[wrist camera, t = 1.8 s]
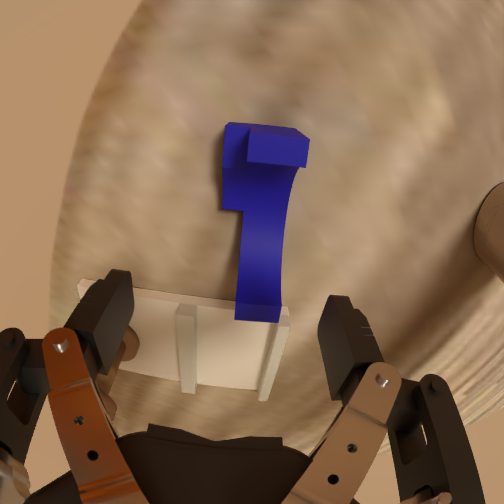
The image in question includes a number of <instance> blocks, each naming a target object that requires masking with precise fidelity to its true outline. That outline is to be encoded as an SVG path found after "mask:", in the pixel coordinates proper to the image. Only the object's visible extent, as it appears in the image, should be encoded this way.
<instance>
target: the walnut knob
mask: <svg viewBox="0 0 504 504" xmlns="http://www.w3.org/2000/svg"><path fill="white" fill-rule="evenodd" d="M139 346H140V342H139V338H138V336H137V334H136V332H135V331H134V330H133V329H132V328H131V327H130V326H129V325H128V327H127V329H126V332H125V334H124V336H123V339H122V341H121V344H120V346H119V348H118V351H117V353H116V356H115V358H114V361H113V363H112V366H111V368H110V371H109V373H108V376H106V375H102V374H98V375H97V377H96V380H95V382H96V384H97V387H98V389H99V392H100V395H101V397H102V399H103V402H104V404H105V407H106V409H107V411H108V414H109V416H110V418H111V420H112V421H113V420H114V417H115V414H116V411H117V406H116V404H115V402H114V401H113V400H112V399H111V398H110V397H109V396H108V394H109V391H110V388H111V386H112V383H113V380H114V378H115V375H116V373H117V370H118V368H119V365H120V363H121V361H130V360H132V359H133V358H134V357H135V356H136V354H137V352H138V349H139Z"/></svg>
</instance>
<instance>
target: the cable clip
mask: <svg viewBox="0 0 504 504" xmlns="http://www.w3.org/2000/svg"><path fill="white" fill-rule="evenodd" d="M309 142H310V139H308V138H307V137H306V136H305V135H303V134H302V133H301V132H299V131H298V130H297V129H295V128H287V127H279V126H270V125H260V124H249V123H235V122H229V123H228V124H226V125H225V136H224V150H223V166H222V169H223V201H222V209H225V210H237V211H243V223H242V235H241V246H240V258H239V269H238V280H237V292H236V302H235V316H234V320H241V321H253V322H268V323H279V318H280V313H281V308H282V303H281V263H282V248H283V237H284V228H285V220H286V213H287V207H288V201H289V196H290V192H291V188H292V184H293V180H294V177H295V175H296V172H297V170H298V169H299V167H303V168H306V163H307V156H308V149H309Z"/></svg>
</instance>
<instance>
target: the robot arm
mask: <svg viewBox="0 0 504 504" xmlns="http://www.w3.org/2000/svg"><path fill="white" fill-rule="evenodd" d="M474 247H475V251H476V253H477V255H478V256H479V258H480V259H481V260H482V261H483V262H484V263H485V264H486V265H487V266H488V267H489V268H490V269H491V270H492V271H493V272H494V273H495V274H496V275H497V276H498V277H499V278H500V280H501V281H502V282H503V283H504V182H503V183H501V184H500V185H498V186H497V187H496V188H494V189H493V190H492V191H491V193H490V194H489V195H488V196H487V198H486V199H485V201H484V203H483V205H482V206H481V209H480V211H479V214H478V216H477V220H476V223H475V229H474ZM134 305H135V302H134V294H133V286H132V277H131V273H130V272H129V271H124V270H117V269H112V270H111V271H110V272H109V274H108V275H107V276H106V278H105V280H101V279H99V280H98V281H96V282H95V283H93V284H92V285H91V286H90V287H89V288H88V290H87V291H86V293H85V294H84V296H83V297H82V299H81V300H80V303H78V305H77V306H76V308H75V309H74V311H73V313H72V314H71V316H70V317H69V319H68V320H67V322H66V324H65V325H64V327H62V328H56V329H53V330H51V331H50V332H48V333H47V334H46V336H45V337H44V339H26V338H25V336H24V334H23V332H22V331H21V330H19V329H17V328H8V329H5V330H3V331H2V332H0V504H360V503H359V502H357V501H356V500H355V499H354V498H353V497H354V495H355V494H356V492H357V490H358V488H359V487H360V485H361V483H362V481H363V480H364V478H365V476H366V474H367V472H368V470H369V468H370V466H371V465H372V463H373V460H374V459H375V457H376V455H377V452H378V450H379V448H380V446H381V444H382V442H383V440H384V437H385V435H386V433H387V431H388V436H389V441H390V446H391V451H392V455H393V461H394V466H395V471H396V478H397V483H398V490H399V496H400V504H485V499H484V495H483V490H482V486H481V482H480V478H479V474H478V470H477V467H476V463H475V460H474V456H473V453H472V450H471V447H470V444H469V440H468V437H467V434H466V431H465V428H464V425H463V423H462V420H461V417H460V414H459V412H458V409H457V406H456V404H455V401H454V399H453V396H452V394H451V391H450V389H449V386H448V384H447V383H446V381H445V380H444V379H443V378H441V377H440V376H438V375H435V374H427V375H425V376H424V377H423V378H422V379H421V380H420V381H419V382H417V381H412V380H407V379H403V378H401V376H400V374H399V372H398V371H397V370H396V369H395V368H394V367H393V366H391V365H389V364H387V363H385V362H384V360H383V357H382V355H381V352H380V350H379V347H378V345H377V342H376V340H375V337H374V336H373V332H372V330H371V329H370V325H369V323H368V321H367V318H366V317H365V316H364V315H363V314H362V312H361V311H360V310H359V309H354V308H353V306H352V303H351V301H350V299H349V297H348V296H340V295H330V296H329V297H328V299H327V302H326V304H325V307H324V310H323V313H322V315H321V318H320V321H319V324H318V340H319V344H320V348H321V353H322V357H323V362H324V366H325V371H326V376H327V380H328V385H329V390H330V395H331V399H332V401H333V400H342V404H343V406H342V407H341V409H340V410H339V412H338V414H337V415H336V417H335V418H334V420H333V421H332V423H331V425H330V426H329V428H328V429H327V431H326V432H325V434H324V435H323V437H322V438H321V440H320V441H319V442H318V444H317V445H316V446H315V448H314V449H313V450H312V452H311V453H310V454H309V455H308V456H307V455H305V454H304V453H302V452H300V451H298V450H296V449H293V448H290V447H287V446H283V443H282V437H252V436H249V437H243V438H236V439H230V440H222V441H212V440H209V439H206V438H203V437H200V436H197V435H195V434H192V433H189V432H186V431H184V430H181V429H176V428H170V427H164V426H159V425H154V424H149V425H148V429H147V431H143V432H135V433H131V434H127V435H125V436H122V437H120V436H119V434H118V432H117V430H116V428H115V426H114V425H113V422H112V420H111V418H110V416H109V414H108V411H107V409H106V407H105V404H104V402H103V399H102V397H101V395H100V392H99V389H98V387H97V384H96V382H95V380H96V377H97V375H98V374H102V375H106V376H108V373H109V371H110V368H111V366H112V363H113V361H114V358H115V356H116V353H117V351H118V348H119V346H120V344H121V341H122V339H123V336H124V334H125V332H126V329H127V327H128V325H129V323H130V320H131V318H132V316H133V312H134ZM14 381H16V382H15V384H14ZM13 384H14V387H13V389H12V391H11V393H10V396H9V398H8V394H9V392H10V390H11V388H12V385H13ZM47 395H48V400H49V404H50V408H51V411H52V415H53V419H54V422H55V425H56V429H57V432H58V435H59V438H60V441H61V444H62V447H63V450H64V453H65V455H66V458H67V461H68V463H69V466H70V469H71V470H70V471H68V472H67V473H65V474H64V475H62V476H61V477H59V478H57V479H56V480H54V481H52V482H51V483H49V484H47V485H46V486H44V487H43V488H41V489H39V490H38V491H36V492H34V493H32V494H30V492H29V488H30V481H29V476H28V472H27V470H26V468H25V467H24V463H25V459H26V455H27V452H28V448H29V445H30V442H31V439H32V436H33V433H34V430H35V427H36V423H37V421H38V418H39V415H40V412H41V409H42V407H43V404H44V401H45V399H46V396H47ZM7 398H8V400H7ZM421 425H423V428H424V431H425V435H426V439H427V445H426V441H425V437H424V434H423V430H422V427H421Z"/></svg>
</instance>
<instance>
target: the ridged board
mask: <svg viewBox="0 0 504 504" xmlns="http://www.w3.org/2000/svg"><path fill="white" fill-rule="evenodd" d="M95 282H96V281H94V280H88V279H83V278H82V279H81V281H80V282H79V283H78V285H77V288H78V292H79V296H80V300H81V299H82V297H83V296H84V294H85V293H86V291H87V290H88V288H89V287H90V286H91V285H92V284H93V283H95ZM133 294H134V302H135V305H134V312H133V316H132V318H131V320H130V323H129V326H130V327H131V328H132V329H133V330H134V331H135V332H136V334H137V336H138V338H139V342H140V346H139V349H138V352H137V354H136V356H135V357H134V358H133V359H132V360H130V361H121V363H120V365H119V368H118V369H122V370H126V371H130V372H135V373H139V374H144V375H149V376H154V377H160V378H165V379H171V380H177V381H181V388H182V392H185V393H191V394H195V392H196V387H197V384H203V385H211V386H219V387H228V388H239V389H250V390H258V401H267V400H268V397H269V394H270V391H271V388H272V385H273V382H274V379H275V376H276V373H277V369H278V366H279V363H280V360H281V357H282V353H283V350H284V347H285V344H286V340H287V337H288V334H289V330H290V320H289V312H288V307H286V306H282V308H281V313H280V318H279V323H268V322H253V321H241V320H234V316H235V302H236V301H229V300H220V299H212V298H204V297H196V296H189V295H182V294H174V293H167V292H161V291H154V290H147V289H141V288H135V287H133Z"/></svg>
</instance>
